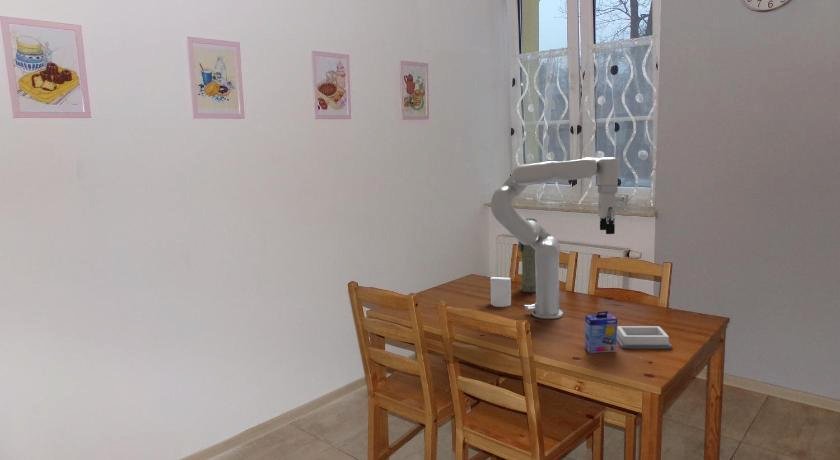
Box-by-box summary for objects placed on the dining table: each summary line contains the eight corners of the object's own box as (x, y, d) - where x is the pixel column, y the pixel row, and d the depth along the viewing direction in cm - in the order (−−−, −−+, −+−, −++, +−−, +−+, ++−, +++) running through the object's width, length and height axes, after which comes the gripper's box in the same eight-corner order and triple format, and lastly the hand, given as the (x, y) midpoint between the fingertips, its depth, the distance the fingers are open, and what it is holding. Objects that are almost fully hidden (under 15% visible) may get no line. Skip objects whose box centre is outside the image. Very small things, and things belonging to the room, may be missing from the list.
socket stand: (621, 348, 199) (621, 337, 199) (613, 335, 212) (613, 325, 211) (672, 348, 197) (672, 337, 197) (661, 335, 210) (661, 325, 209)
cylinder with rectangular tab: (488, 306, 255) (488, 280, 253) (493, 300, 263) (493, 275, 261) (508, 307, 252) (508, 281, 250) (513, 301, 260) (512, 276, 258)
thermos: (546, 290, 277) (545, 219, 271) (526, 293, 272) (525, 221, 266) (535, 286, 285) (534, 217, 279) (515, 289, 280) (514, 219, 274)
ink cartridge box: (589, 353, 196) (590, 313, 193) (583, 348, 201) (584, 308, 199) (617, 352, 196) (618, 311, 194) (610, 346, 202) (611, 306, 199)
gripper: (592, 187, 233) (592, 228, 236) (603, 191, 216) (602, 235, 219) (611, 186, 233) (611, 228, 235) (623, 190, 216) (622, 235, 218)
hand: (607, 231), depth 227 cm, fingers open, 9 cm apart
